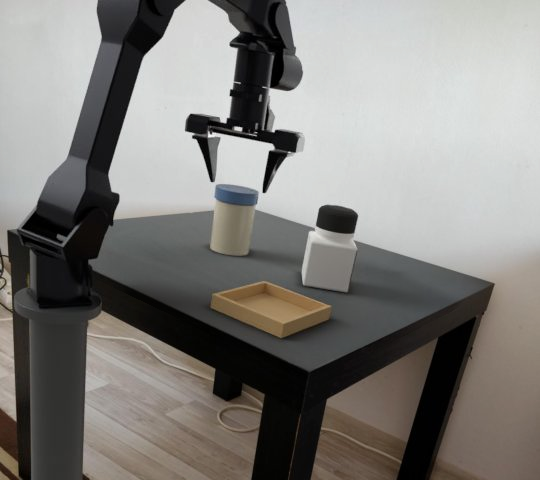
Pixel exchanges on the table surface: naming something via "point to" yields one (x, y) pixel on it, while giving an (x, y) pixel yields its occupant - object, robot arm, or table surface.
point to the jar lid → (236, 194)
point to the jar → (232, 228)
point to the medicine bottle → (331, 249)
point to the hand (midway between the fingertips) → (238, 187)
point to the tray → (271, 308)
